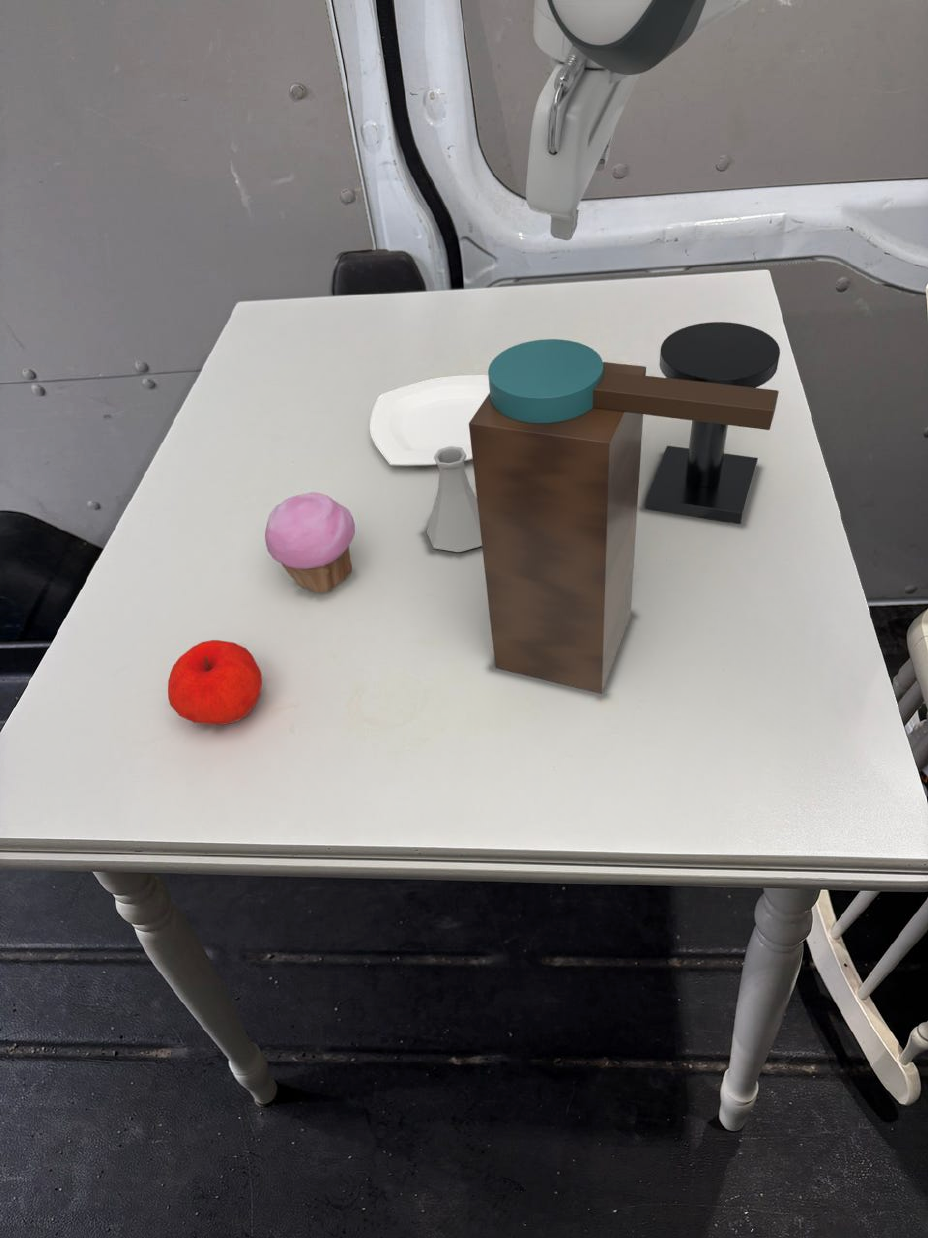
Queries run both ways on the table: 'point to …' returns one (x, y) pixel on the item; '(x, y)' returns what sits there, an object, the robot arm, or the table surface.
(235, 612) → the table surface
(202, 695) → the apple
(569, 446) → the pedestal
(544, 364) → the disc paddle
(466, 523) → the flask
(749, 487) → the display stand
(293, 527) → the cupcake
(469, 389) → the plate
